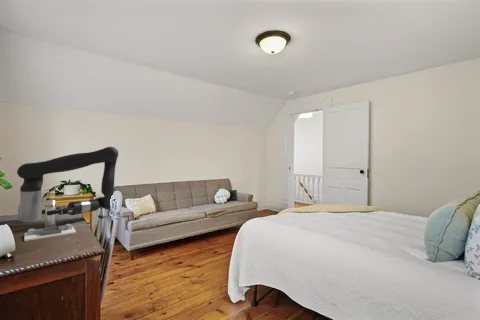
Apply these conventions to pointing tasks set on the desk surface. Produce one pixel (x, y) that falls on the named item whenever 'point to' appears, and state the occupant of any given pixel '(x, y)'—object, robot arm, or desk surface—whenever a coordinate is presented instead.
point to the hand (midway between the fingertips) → (44, 212)
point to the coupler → (50, 219)
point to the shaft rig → (49, 232)
